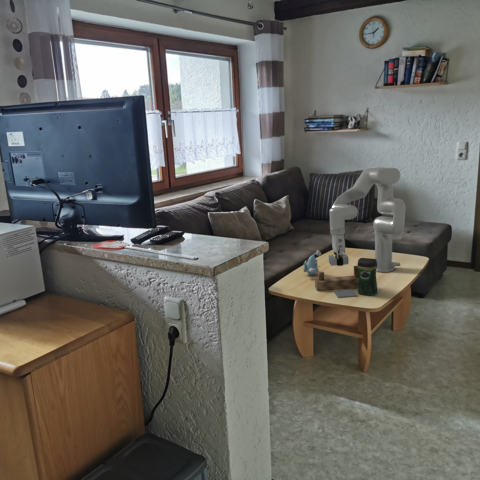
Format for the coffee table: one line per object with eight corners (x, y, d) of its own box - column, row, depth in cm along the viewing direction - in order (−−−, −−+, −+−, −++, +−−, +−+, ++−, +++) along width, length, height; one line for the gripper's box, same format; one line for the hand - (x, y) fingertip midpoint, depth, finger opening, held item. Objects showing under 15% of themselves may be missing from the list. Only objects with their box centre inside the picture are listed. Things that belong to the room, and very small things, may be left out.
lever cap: (345, 260, 262) (345, 252, 261) (348, 264, 256) (348, 255, 255) (329, 262, 262) (328, 253, 261) (331, 265, 256) (331, 256, 255)
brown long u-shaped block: (362, 283, 265) (362, 264, 263) (365, 287, 259) (365, 267, 257) (315, 287, 264) (314, 267, 262) (317, 290, 258) (316, 271, 256)
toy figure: (321, 279, 277) (320, 253, 273) (302, 279, 279) (301, 254, 276) (322, 270, 293) (321, 246, 289) (304, 270, 295) (303, 246, 291)
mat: (352, 290, 256) (352, 289, 255) (357, 296, 247) (357, 295, 247) (333, 291, 255) (333, 290, 255) (337, 297, 247) (337, 296, 246)
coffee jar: (379, 292, 251) (379, 257, 247) (374, 296, 245) (374, 261, 240) (360, 289, 256) (360, 255, 252) (355, 294, 250) (355, 259, 246)
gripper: (348, 234, 246) (350, 267, 251) (340, 226, 263) (341, 258, 268) (334, 235, 246) (335, 269, 251) (326, 227, 263) (328, 259, 267)
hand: (338, 263), depth 259 cm, fingers closed on lever cap, 6 cm apart
